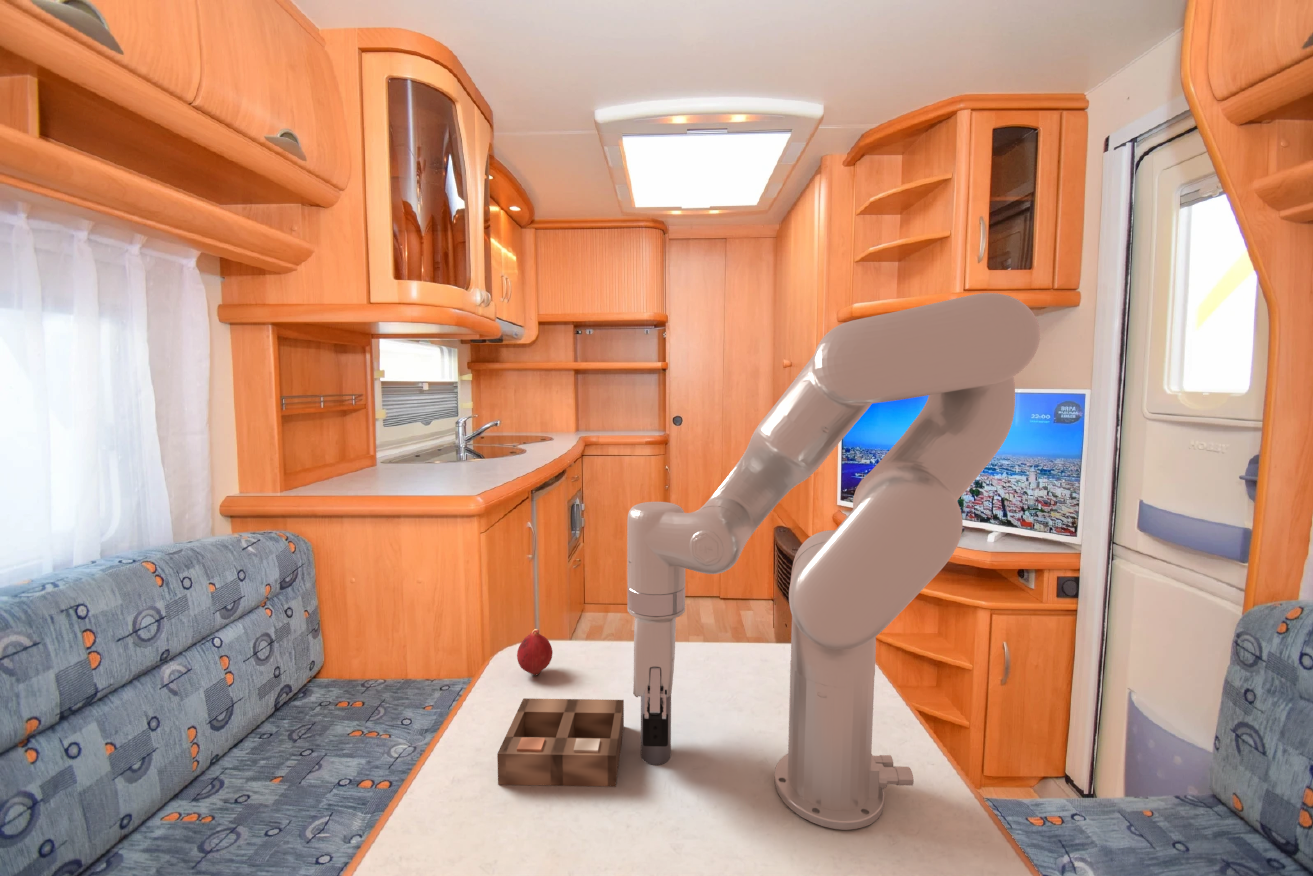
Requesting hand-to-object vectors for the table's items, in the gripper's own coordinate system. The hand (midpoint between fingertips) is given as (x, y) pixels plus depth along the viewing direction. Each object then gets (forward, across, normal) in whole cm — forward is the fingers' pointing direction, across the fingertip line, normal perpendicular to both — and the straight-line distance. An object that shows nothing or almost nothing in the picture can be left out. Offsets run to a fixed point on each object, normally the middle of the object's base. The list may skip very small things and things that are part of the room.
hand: (655, 730), depth 72 cm
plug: (+3, 0, 0) cm, 3 cm away
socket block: (+3, 0, -12) cm, 12 cm away
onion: (+4, -20, -21) cm, 29 cm away
